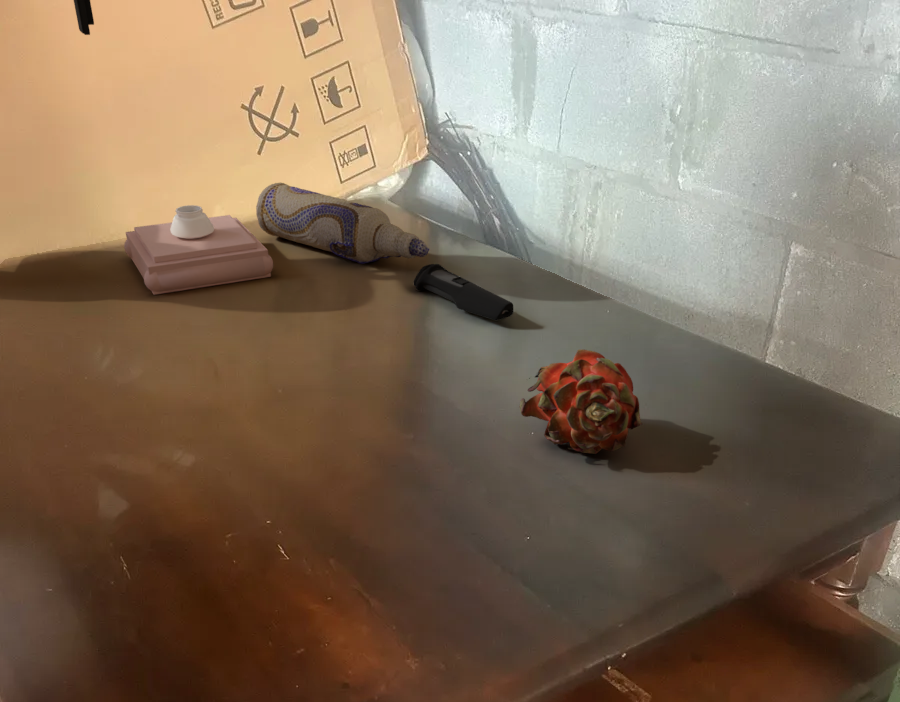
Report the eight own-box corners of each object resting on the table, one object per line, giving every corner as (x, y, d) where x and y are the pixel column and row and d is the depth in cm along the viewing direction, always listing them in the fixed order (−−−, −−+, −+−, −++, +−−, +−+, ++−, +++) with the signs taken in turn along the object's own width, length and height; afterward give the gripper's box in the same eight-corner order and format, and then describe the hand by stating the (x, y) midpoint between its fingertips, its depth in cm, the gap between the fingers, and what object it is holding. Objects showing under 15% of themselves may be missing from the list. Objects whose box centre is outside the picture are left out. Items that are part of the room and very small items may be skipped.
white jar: (199, 225, 112) (163, 234, 110) (195, 200, 111) (158, 208, 108) (222, 234, 110) (186, 244, 107) (218, 208, 108) (182, 217, 105)
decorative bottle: (255, 242, 120) (248, 188, 115) (296, 228, 124) (291, 176, 120) (405, 285, 107) (403, 227, 103) (445, 269, 112) (445, 212, 108)
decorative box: (149, 297, 104) (142, 263, 102) (125, 257, 115) (118, 225, 112) (277, 277, 109) (273, 244, 107) (243, 240, 120) (238, 209, 118)
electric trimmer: (493, 334, 97) (495, 305, 95) (410, 289, 106) (410, 262, 104) (520, 326, 99) (522, 297, 97) (436, 282, 108) (436, 255, 106)
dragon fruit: (613, 496, 75) (537, 450, 84) (684, 419, 74) (600, 382, 84) (561, 429, 69) (485, 388, 79) (638, 347, 69) (553, 315, 78)
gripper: (82, -172, 92) (115, 27, 102) (-110, -182, 86) (-53, 31, 96) (93, -173, 87) (127, 37, 97) (-110, -184, 80) (-50, 41, 91)
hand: (37, 34), depth 97 cm, fingers open, 9 cm apart
